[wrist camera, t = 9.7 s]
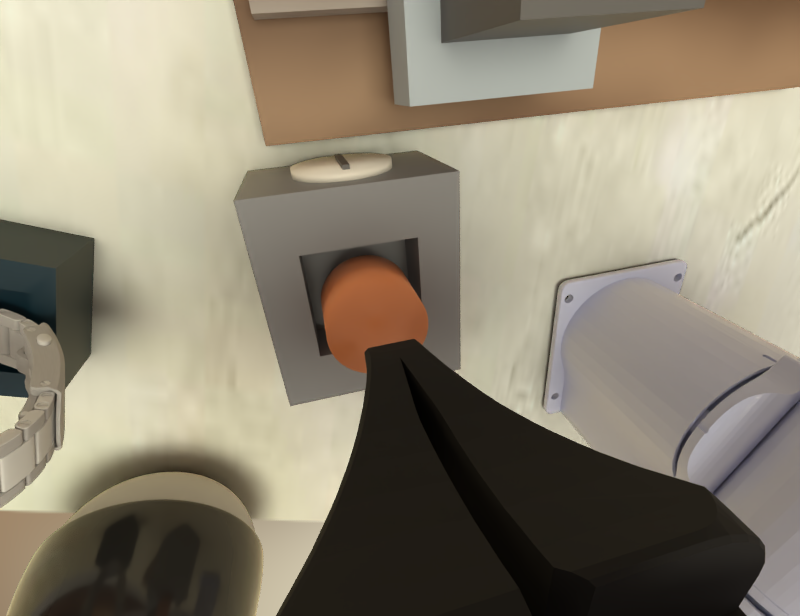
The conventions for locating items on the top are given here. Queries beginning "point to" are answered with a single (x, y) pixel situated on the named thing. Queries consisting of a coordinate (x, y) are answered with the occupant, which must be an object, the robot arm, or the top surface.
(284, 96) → the rail track
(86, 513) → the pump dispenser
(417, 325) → the button
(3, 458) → the watch
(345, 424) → the top surface
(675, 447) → the robot arm
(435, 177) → the gauge cabinet
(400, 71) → the carriage
